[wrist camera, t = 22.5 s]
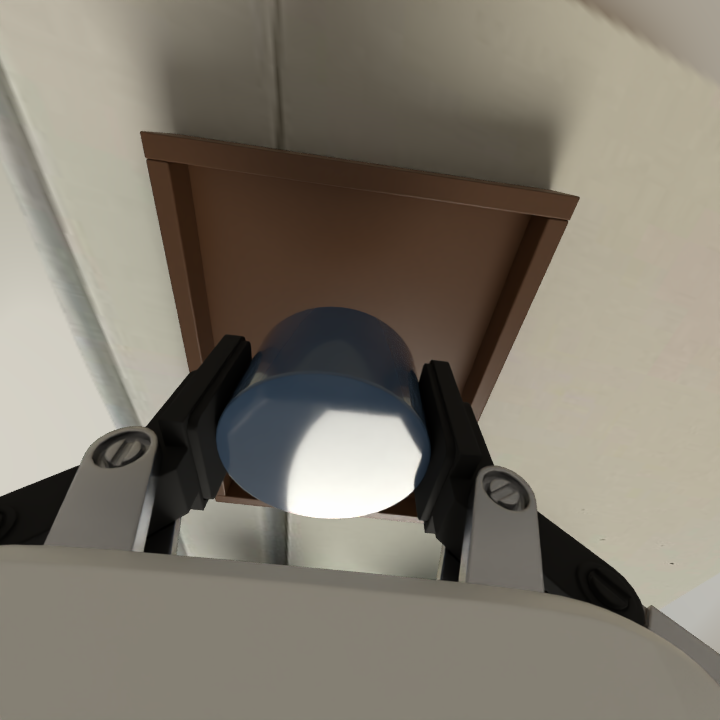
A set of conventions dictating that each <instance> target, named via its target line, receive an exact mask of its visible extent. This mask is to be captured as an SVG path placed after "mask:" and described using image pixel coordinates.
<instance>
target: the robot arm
mask: <svg viewBox="0 0 720 720" xmlns="http://www.w3.org/2000/svg"><path fill="white" fill-rule="evenodd" d="M251 361H252V352H251V343H250V342H249V341H246V340H245V337H244V336H237V335H229V334H226V335H224V336H223V338H222V339H221V340H220V341H219V343H218V344H217V345H216V347H215V348H214V349H213V350H212V352H211V353H210V354H209V355H208V357H207V358H206V359H205V360H204V362H203V363H202V364H201V365H200V367H199V368H198V369H197V370H193V371H192V372H190V373H189V374H188V376H187V377H186V378H185V379H184V381H183V382H182V383H181V384H180V385H179V387H178V388H177V389H176V390H175V392H174V393H173V394H172V395H171V397H170V398H169V399H168V400H167V401H166V403H165V404H164V405H163V406H162V408H161V409H160V410H159V411H158V413H157V414H156V415H155V416H154V417H153V419H152V420H151V421H150V422H149V424H148V425H147V426H146V427H142V426H129V427H124V428H120V429H117V430H114V431H112V432H109V433H107V434H105V435H104V436H102V437H100V438H99V439H97V440H96V441H95V442H94V443H93V444H92V445H90V447H89V448H88V450H87V451H86V453H85V455H84V457H83V459H82V462H81V464H80V465H79V466H76V467H73V468H71V469H68V470H66V471H63V472H61V473H59V474H56V475H53V476H51V477H48V478H46V479H43V480H41V481H38V482H36V483H34V484H31V485H28V486H26V487H23V488H21V489H18V490H16V491H13V492H11V493H8V494H6V495H3V496H1V497H0V720H720V654H719V653H717V652H716V651H714V650H713V649H712V648H710V647H709V646H707V645H706V644H705V643H703V642H702V641H701V640H699V639H698V638H696V637H695V636H694V635H692V634H691V633H689V632H688V631H687V630H685V629H684V628H683V627H681V626H680V625H678V624H677V623H676V622H674V621H673V620H671V619H670V618H669V617H667V616H666V615H665V614H663V613H662V612H660V611H659V610H658V609H656V608H655V607H654V606H652V605H651V606H649V607H648V608H646V607H645V606H643V605H642V604H641V601H640V599H639V597H638V595H637V594H636V592H635V590H634V589H633V587H632V586H631V585H630V584H629V583H628V582H627V580H626V579H625V578H624V577H623V576H622V575H621V574H620V573H618V572H617V571H616V570H615V569H614V568H613V567H611V566H610V565H609V564H607V563H606V562H605V561H603V560H602V559H601V558H599V557H598V556H597V555H595V554H594V553H593V552H591V551H590V550H589V549H587V548H586V547H585V546H583V545H582V544H581V543H579V542H578V541H577V540H575V539H574V538H573V537H571V536H570V535H568V534H567V533H566V532H564V531H563V530H562V529H560V528H559V527H558V526H556V525H555V524H554V523H552V522H551V521H550V520H548V519H547V518H546V517H544V516H543V515H542V514H540V513H539V512H538V511H537V504H536V499H535V495H534V492H533V491H532V489H531V487H530V486H529V484H528V483H527V482H526V481H525V480H524V479H523V478H522V477H520V476H519V475H518V474H516V473H515V472H513V471H511V470H509V469H507V468H504V467H500V466H494V464H493V462H492V459H491V457H490V454H489V451H488V449H487V446H486V444H485V441H484V438H483V436H482V433H481V431H480V428H479V425H478V423H477V420H476V418H475V415H474V412H473V410H472V407H471V405H470V404H469V403H468V402H463V400H462V398H461V395H460V392H459V389H458V387H457V384H456V381H455V378H454V375H453V373H452V370H451V367H450V364H449V362H446V361H438V360H431V361H430V362H429V364H428V363H425V364H424V365H423V368H422V372H421V375H420V379H419V387H420V392H421V397H422V402H423V406H424V411H425V416H426V421H427V426H428V431H429V436H430V442H431V460H430V463H429V466H428V469H427V472H426V474H425V477H424V479H423V480H422V482H421V483H420V485H419V486H418V487H417V488H416V489H415V490H414V494H415V502H416V510H417V517H418V520H420V521H424V529H425V533H433V534H435V535H436V538H437V539H438V540H439V541H440V542H441V543H442V548H441V554H440V560H439V566H438V572H437V577H436V580H432V579H422V578H412V577H402V576H392V575H382V574H372V573H362V572H351V571H341V570H330V569H320V568H309V567H299V566H288V565H277V564H267V563H256V562H245V561H234V560H223V559H212V558H201V557H190V556H178V555H177V548H178V540H179V532H180V525H181V517H182V516H184V515H186V514H187V513H189V511H190V509H194V510H204V508H205V506H206V504H207V502H208V500H209V499H214V498H215V497H216V495H217V493H218V491H219V489H220V486H221V484H222V482H223V480H224V477H225V475H226V473H227V471H226V469H225V468H224V466H223V464H222V462H221V460H220V458H219V455H218V451H217V445H216V428H217V424H218V421H219V418H220V416H221V414H222V412H223V410H224V408H225V407H226V405H227V403H228V401H229V399H230V398H231V396H232V394H233V392H234V391H235V389H236V387H237V385H238V384H239V382H240V380H241V378H242V377H243V375H244V373H245V371H246V370H247V368H248V366H249V364H250V362H251Z"/></svg>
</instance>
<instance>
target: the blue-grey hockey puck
mask: <svg viewBox="0 0 720 720" xmlns="http://www.w3.org/2000/svg"><path fill="white" fill-rule="evenodd" d="M216 445H217V451H218V455H219V458H220V460H221V462H222V464H223V466H224V468H225V469H226V471H227V472H228V474H229V475H230V476H231V478H232V479H233V480H234V481H235V482H236V483H237V484H238V485H239V486H240V487H241V488H243V489H244V490H245V491H246V492H248V493H249V494H251V495H252V496H253V497H255V498H257V499H258V500H260V501H262V502H264V503H266V504H268V505H270V506H272V507H275V508H277V509H280V510H283V511H286V512H289V513H293V514H296V515H301V516H306V517H313V518H323V519H344V518H354V517H360V516H366V515H369V514H373V513H377V512H379V511H382V510H385V509H387V508H389V507H391V506H393V505H395V504H397V503H399V502H400V501H402V500H404V499H405V498H406V497H407V496H409V495H410V494H411V493H412V492H413V491H414V490H415V489H416V488H417V487H418V486H419V485H420V483H421V482H422V480H423V479H424V477H425V474H426V472H427V469H428V466H429V463H430V460H431V442H430V436H429V431H428V426H427V421H426V416H425V411H424V406H423V402H422V397H421V392H420V387H419V382H418V377H417V372H416V367H415V363H414V360H413V356H412V354H411V352H410V350H409V348H408V346H407V345H406V343H405V342H404V340H403V339H402V338H401V337H400V336H399V335H398V333H397V332H396V331H395V330H393V329H392V328H391V327H390V326H389V325H387V324H386V323H384V322H383V321H381V320H379V319H378V318H376V317H374V316H372V315H369V314H367V313H365V312H361V311H358V310H355V309H350V308H344V307H318V308H312V309H307V310H304V311H301V312H298V313H295V314H293V315H291V316H289V317H287V318H285V319H284V320H282V321H281V322H279V323H278V324H277V325H276V326H275V327H274V328H272V329H271V330H270V332H269V333H268V334H267V335H266V337H265V338H264V340H263V341H262V343H261V345H260V347H259V348H258V350H257V352H256V354H255V355H254V357H253V359H252V361H251V362H250V364H249V366H248V368H247V370H246V371H245V373H244V375H243V377H242V378H241V380H240V382H239V384H238V385H237V387H236V389H235V391H234V392H233V394H232V396H231V398H230V399H229V401H228V403H227V405H226V407H225V408H224V410H223V412H222V414H221V416H220V418H219V421H218V424H217V428H216Z"/></svg>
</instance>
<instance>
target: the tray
mask: <svg viewBox="0 0 720 720" xmlns="http://www.w3.org/2000/svg"><path fill="white" fill-rule="evenodd" d="M140 134H141V139H142V144H143V149H144V154H145V157H146V158H147V160H146V162H147V167H148V172H149V176H150V181H151V186H152V191H153V196H154V201H155V206H156V211H157V216H158V220H159V225H160V230H161V235H162V240H163V245H164V250H165V255H166V260H167V265H168V269H169V274H170V279H171V284H172V289H173V294H174V299H175V304H176V309H177V313H178V318H179V323H180V328H181V333H182V338H183V343H184V348H185V353H186V357H187V362H188V367H189V372H192V371H193V370H197V369H198V368H199V367H200V365H201V364H202V363H203V362H204V360H205V359H206V358H207V357H208V355H209V354H210V353H211V352H212V350H213V349H214V348H215V347H216V345H217V344H218V343H219V341H220V340H221V339H222V338H223V336H224V335H226V334H229V335H237V336H244V337H245V340H246V341H249V342H250V343H251V352H252V359H253V357H254V355H255V354H256V352H257V350H258V348H259V347H260V345H261V343H262V341H263V340H264V338H265V337H266V335H267V334H268V333H269V332H270V330H271V329H272V328H274V327H275V326H276V325H277V324H278V323H279V322H281V321H282V320H284V319H285V318H287V317H289V316H291V315H293V314H295V313H298V312H301V311H304V310H307V309H312V308H318V307H344V308H350V309H355V310H358V311H361V312H365V313H367V314H369V315H372V316H374V317H376V318H378V319H379V320H381V321H383V322H384V323H386V324H387V325H389V326H390V327H391V328H392V329H393V330H395V331H396V332H397V333H398V335H399V336H400V337H401V338H402V339H403V340H404V342H405V343H406V345H407V346H408V348H409V350H410V352H411V354H412V356H413V360H414V363H415V367H416V372H417V377H418V382H419V379H420V375H421V372H422V368H423V365H424V364H425V363H428V364H429V362H430V361H431V360H438V361H446V362H449V364H450V367H451V370H452V373H453V375H454V378H455V381H456V384H457V387H458V389H459V392H460V395H461V398H462V400H463V402H468V403H469V404H470V405H471V407H472V410H473V412H474V415H475V418H476V420H477V423H478V421H479V418H480V416H481V414H482V412H483V410H484V407H485V405H486V403H487V401H488V399H489V396H490V394H491V392H492V390H493V388H494V385H495V383H496V381H497V379H498V376H499V374H500V372H501V370H502V368H503V365H504V363H505V361H506V359H507V357H508V354H509V352H510V350H511V348H512V346H513V343H514V341H515V339H516V337H517V334H518V332H519V330H520V328H521V326H522V323H523V321H524V319H525V317H526V315H527V312H528V310H529V308H530V306H531V304H532V301H533V299H534V297H535V295H536V293H537V290H538V288H539V286H540V284H541V281H542V279H543V277H544V275H545V273H546V270H547V268H548V266H549V264H550V262H551V259H552V257H553V255H554V253H555V251H556V248H557V246H558V244H559V242H560V239H561V237H562V235H563V233H564V231H565V228H566V226H567V224H568V221H567V220H570V218H571V216H572V214H573V212H574V210H575V207H576V205H577V203H578V201H579V198H580V197H578V196H574V195H570V194H565V193H561V192H557V191H552V190H547V189H540V188H533V187H527V186H520V185H513V184H507V183H500V182H493V181H487V180H480V179H473V178H467V177H460V176H453V175H447V174H440V173H434V172H427V171H420V170H414V169H407V168H400V167H394V166H387V165H380V164H374V163H367V162H360V161H354V160H347V159H340V158H334V157H327V156H320V155H314V154H307V153H300V152H294V151H287V150H280V149H274V148H267V147H260V146H254V145H247V144H240V143H234V142H227V141H220V140H214V139H207V138H200V137H194V136H187V135H180V134H172V133H160V132H146V131H141V132H140ZM215 500H216V502H225V503H234V504H244V505H253V506H263V507H272V506H270V505H268V504H266V503H264V502H262V501H260V500H258V499H257V498H255V497H253V496H252V495H251V494H249V493H248V492H246V491H245V490H244V489H243V488H241V487H240V486H239V485H238V484H237V483H236V482H235V481H234V480H233V479H232V478H231V476H230V475H229V474H228V472H227V473H226V475H225V477H224V480H223V482H222V484H221V486H220V489H219V491H218V493H217V495H216V497H215ZM272 508H275V507H272ZM360 517H366V518H375V519H385V520H394V521H403V522H413V523H422V524H424V521H420V520H418V517H417V510H416V502H415V494H414V491H413V492H412V493H411V494H410V495H409V496H407V497H406V498H405V499H404V500H402V501H400V502H399V503H397V504H395V505H393V506H391V507H389V508H387V509H385V510H382V511H379V512H377V513H373V514H369V515H366V516H360Z"/></svg>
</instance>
